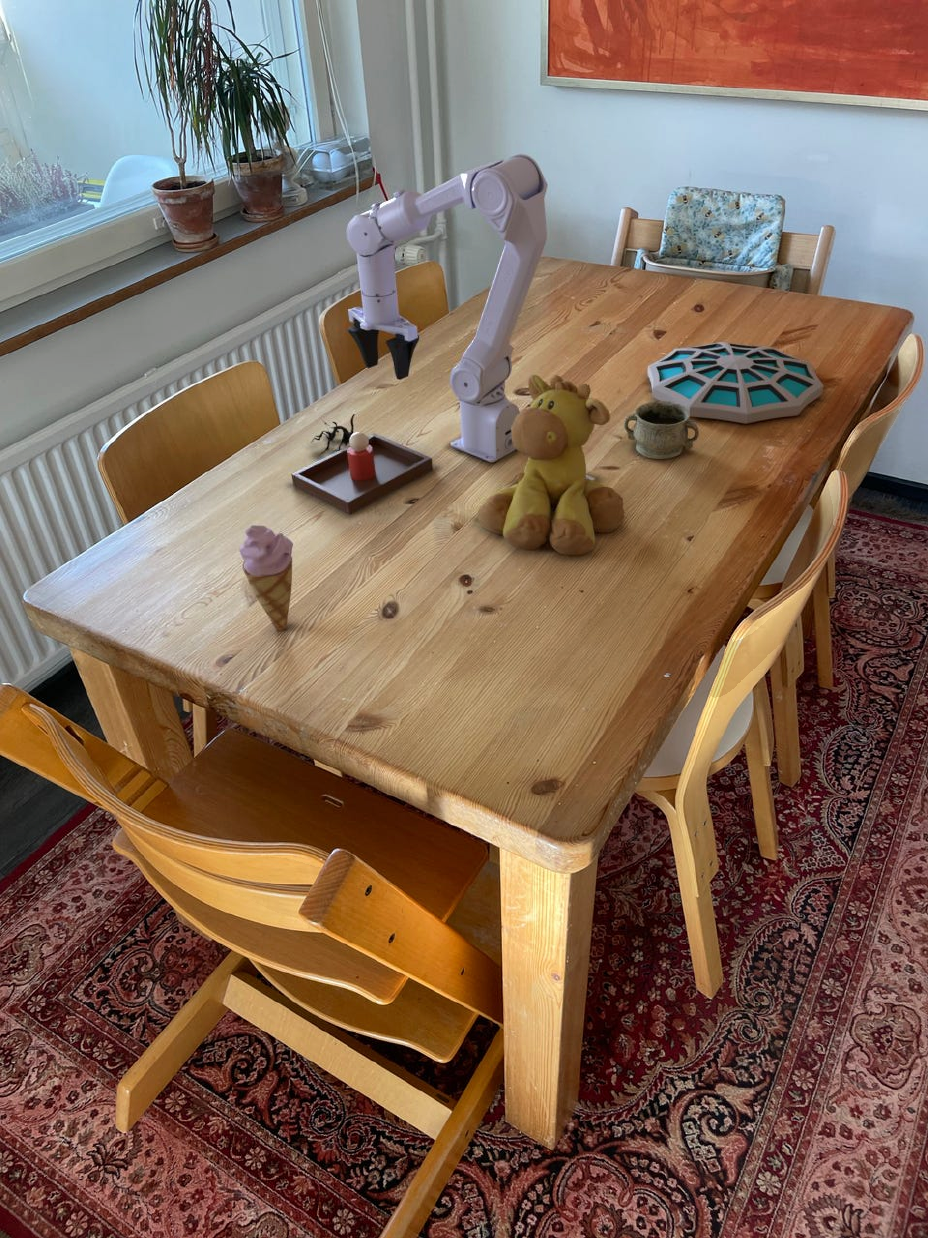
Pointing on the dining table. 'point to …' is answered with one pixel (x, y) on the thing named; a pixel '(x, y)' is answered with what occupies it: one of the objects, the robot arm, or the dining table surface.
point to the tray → (351, 495)
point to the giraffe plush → (554, 474)
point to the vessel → (661, 429)
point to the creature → (332, 435)
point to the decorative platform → (735, 382)
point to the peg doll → (360, 457)
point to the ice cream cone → (269, 571)
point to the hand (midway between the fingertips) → (387, 371)
